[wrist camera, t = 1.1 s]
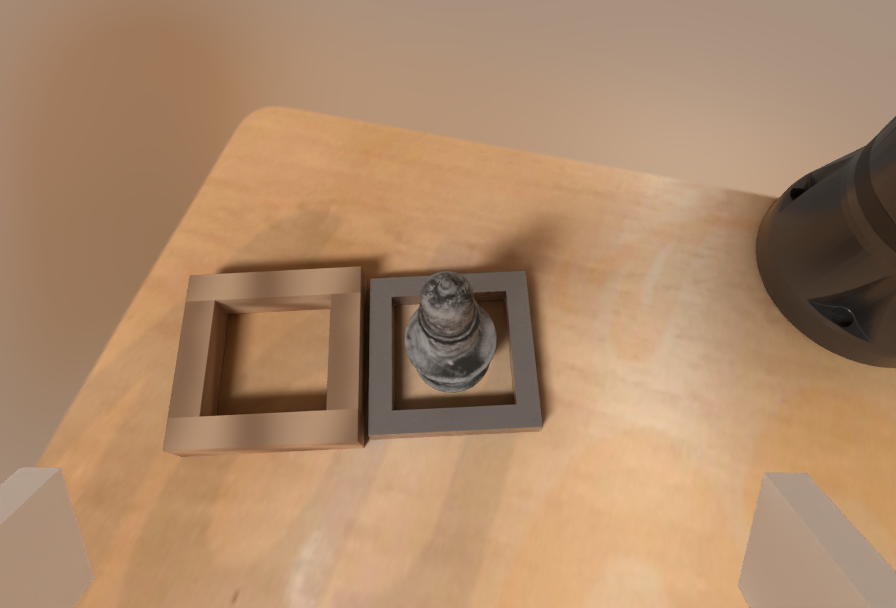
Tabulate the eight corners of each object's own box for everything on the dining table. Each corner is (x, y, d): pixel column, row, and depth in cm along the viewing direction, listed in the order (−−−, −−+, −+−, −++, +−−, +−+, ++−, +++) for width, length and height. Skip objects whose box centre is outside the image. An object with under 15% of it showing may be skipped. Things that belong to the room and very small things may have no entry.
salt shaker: (434, 303, 41) (421, 212, 30) (508, 337, 39) (524, 256, 28) (394, 373, 39) (365, 305, 28) (471, 412, 37) (472, 356, 26)
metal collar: (523, 279, 41) (525, 270, 40) (539, 431, 37) (542, 426, 35) (373, 287, 41) (370, 278, 40) (372, 439, 37) (368, 435, 36)
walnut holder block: (366, 281, 41) (360, 266, 39) (364, 447, 37) (357, 441, 34) (204, 290, 42) (189, 275, 39) (181, 456, 37) (162, 450, 35)
